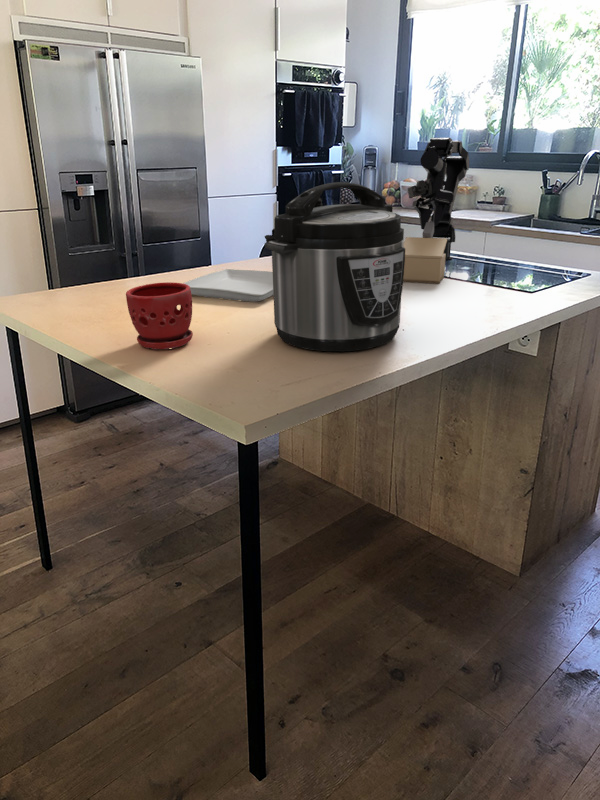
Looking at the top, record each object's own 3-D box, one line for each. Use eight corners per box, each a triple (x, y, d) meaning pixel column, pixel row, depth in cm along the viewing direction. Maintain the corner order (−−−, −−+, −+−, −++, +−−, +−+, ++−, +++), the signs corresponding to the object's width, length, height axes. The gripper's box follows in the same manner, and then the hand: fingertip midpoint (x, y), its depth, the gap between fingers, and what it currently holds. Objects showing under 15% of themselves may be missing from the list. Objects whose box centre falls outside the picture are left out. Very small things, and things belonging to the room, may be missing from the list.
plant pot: (155, 333, 143) (150, 279, 138) (206, 338, 138) (202, 283, 134) (119, 349, 132) (111, 292, 127) (173, 356, 127) (167, 297, 122)
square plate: (175, 298, 177) (174, 284, 175) (227, 279, 199) (226, 267, 198) (261, 307, 166) (260, 292, 164) (305, 286, 188) (305, 273, 187)
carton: (405, 275, 200) (406, 252, 197) (444, 277, 196) (445, 253, 193) (398, 281, 191) (399, 257, 188) (439, 283, 187) (440, 259, 184)
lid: (410, 231, 200) (410, 221, 198) (450, 232, 196) (450, 222, 194) (399, 260, 189) (399, 250, 187) (441, 261, 185) (441, 252, 183)
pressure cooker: (269, 360, 124) (263, 188, 112) (265, 322, 150) (260, 180, 138) (421, 355, 126) (431, 185, 114) (391, 318, 152) (397, 177, 140)
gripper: (401, 179, 212) (394, 227, 214) (425, 167, 194) (418, 219, 196) (431, 185, 215) (425, 232, 216) (458, 173, 197) (450, 225, 198)
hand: (428, 227), depth 207 cm, fingers open, 9 cm apart
